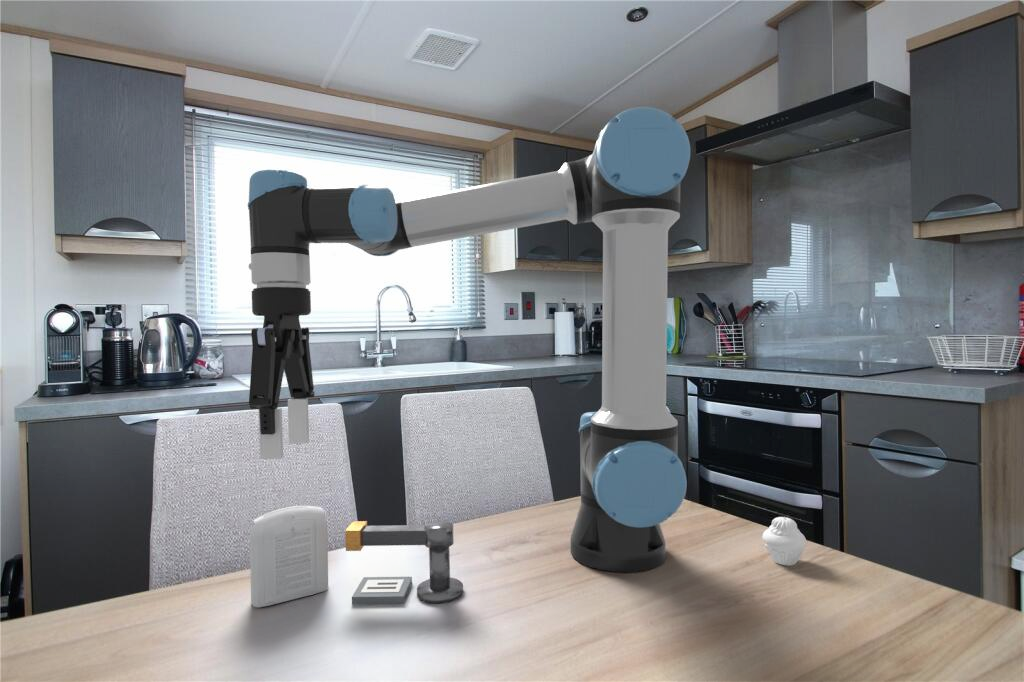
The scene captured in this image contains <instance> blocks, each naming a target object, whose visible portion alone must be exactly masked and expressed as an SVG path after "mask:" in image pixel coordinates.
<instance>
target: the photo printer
mask: <svg viewBox="0 0 1024 682" xmlns="http://www.w3.org/2000/svg"><path fill="white" fill-rule="evenodd" d="M328 534H329V533H328V519H327V516H326V511H325V509H323V507H321V506H314V505H294V506H287V507H282V508H277V509H275V510H272V511H269V512H267V513H264V514H262V515H260V516H257V517H256V518H254V519H253V520H252V522H251V529H250V533H249V549H250V551H249V562H250V564H249V565H250V566H249V569H250V603H251V604H250V605H252V607H254V608H263V607H269V606H272V605H276V604H280V603H281V604H282V603H284V602H288V601H292V600H296V599H300V598H304V597H307V596H312V595H315V594H319V593H322V592H326V591H327V590H328V588H329V553H328V552H329V549H328V545H329V544H328V542H329V539H328Z"/></svg>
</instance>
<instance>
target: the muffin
mask: <svg viewBox="0 0 1024 682" xmlns="http://www.w3.org/2000/svg"><path fill="white" fill-rule="evenodd" d="M762 540H763V542H764V546H765V548H766V549H767V552H768V553H769V555H770V558H771V559H772V561H773V562H774V563H776V564H777V565H781V566H786V567H787V566H789V567H790V566H794V565H796V564H797V562H798V560H800V558H801V556H802V555H803V553H804V552H805V547H806V546H807V539H806V537H805V535H804V534H803V533H802V532H801V531H800V529H799V528H798V524H797V522H796V521H795V520H794V519H792V518H790V517H786V516H778V517H775V518H773V519H772V520H771V525H769V527H768V528H767V529H766V530H764V531H763V533H762Z"/></svg>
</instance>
